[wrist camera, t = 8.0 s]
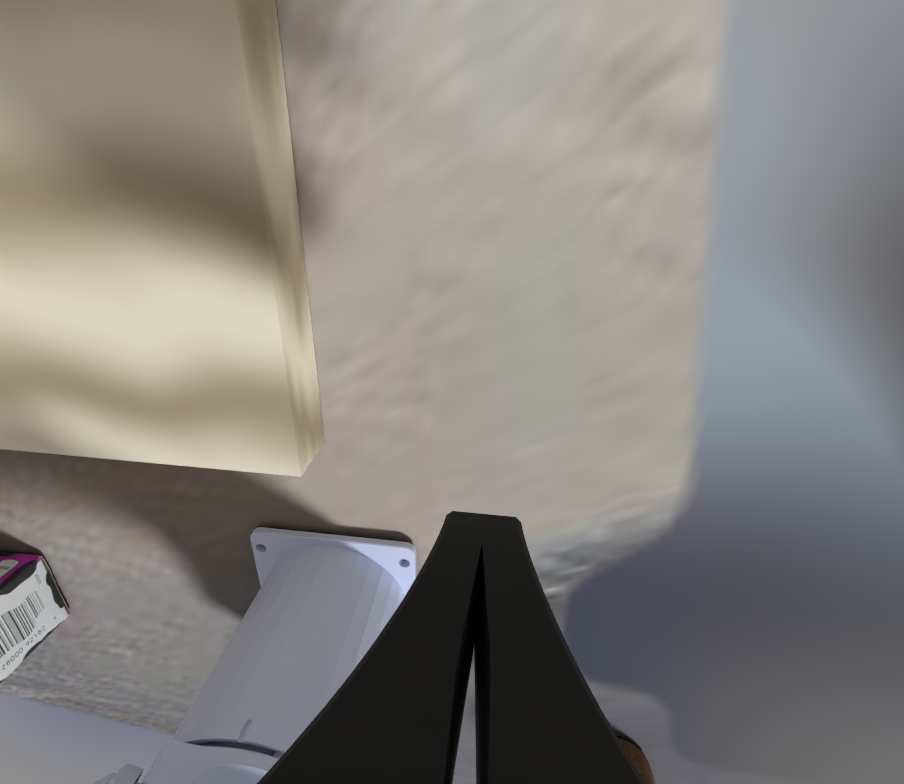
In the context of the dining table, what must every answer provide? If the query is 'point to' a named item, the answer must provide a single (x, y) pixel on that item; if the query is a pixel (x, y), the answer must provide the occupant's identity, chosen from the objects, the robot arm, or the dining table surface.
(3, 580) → the candy bar box
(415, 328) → the dining table surface
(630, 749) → the utensil holder
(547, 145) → the dining table surface
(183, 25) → the birch plate
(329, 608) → the robot arm
